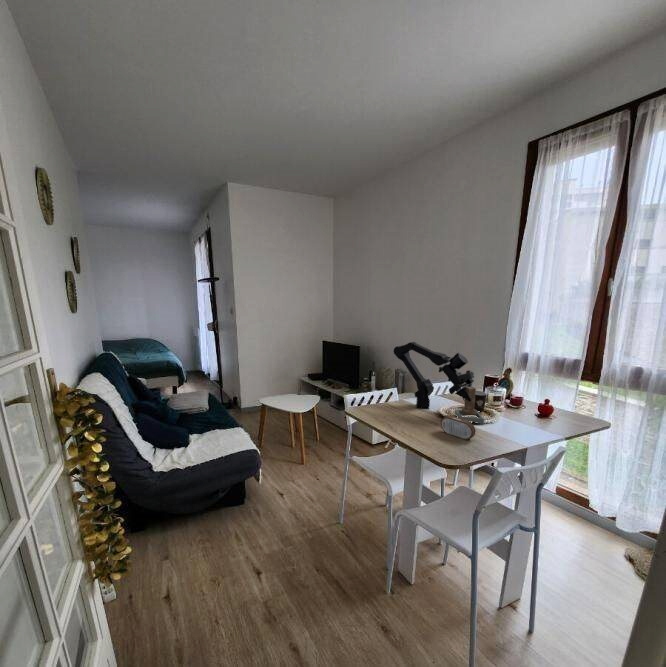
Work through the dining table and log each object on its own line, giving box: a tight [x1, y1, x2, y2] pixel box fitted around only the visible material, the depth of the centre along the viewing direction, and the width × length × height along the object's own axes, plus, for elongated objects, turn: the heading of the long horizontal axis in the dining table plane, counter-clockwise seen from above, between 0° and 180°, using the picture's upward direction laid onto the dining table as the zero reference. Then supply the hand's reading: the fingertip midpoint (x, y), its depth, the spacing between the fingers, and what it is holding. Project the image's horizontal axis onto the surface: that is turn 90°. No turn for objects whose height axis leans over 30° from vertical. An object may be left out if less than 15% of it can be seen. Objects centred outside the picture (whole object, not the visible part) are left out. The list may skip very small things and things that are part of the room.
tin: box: [440, 414, 476, 441], centre depth 142 cm, size 15×3×8 cm, turn 44°
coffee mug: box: [462, 390, 488, 413], centre depth 176 cm, size 12×9×10 cm
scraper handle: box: [461, 386, 477, 414], centre depth 161 cm, size 5×5×13 cm
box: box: [454, 409, 485, 425], centre depth 162 cm, size 11×11×3 cm
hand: (472, 399), depth 160 cm, fingers closed on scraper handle, 5 cm apart
